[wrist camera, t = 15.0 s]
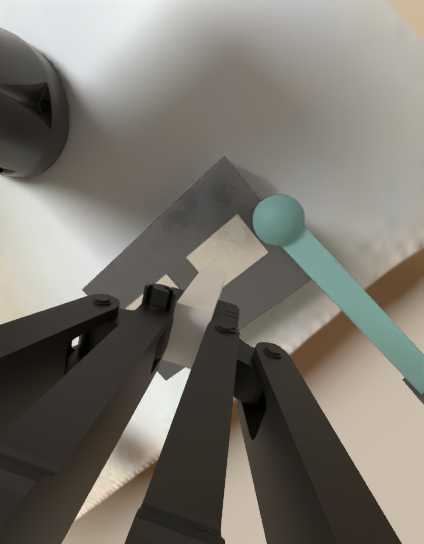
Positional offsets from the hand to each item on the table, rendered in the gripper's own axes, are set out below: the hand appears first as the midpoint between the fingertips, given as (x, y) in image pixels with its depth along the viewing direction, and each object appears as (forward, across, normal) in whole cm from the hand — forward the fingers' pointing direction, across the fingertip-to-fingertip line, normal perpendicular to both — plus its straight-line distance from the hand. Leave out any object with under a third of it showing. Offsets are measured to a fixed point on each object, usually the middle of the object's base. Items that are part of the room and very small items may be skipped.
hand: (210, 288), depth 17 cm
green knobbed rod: (+9, +12, 0) cm, 15 cm away
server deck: (+16, -3, -4) cm, 17 cm away
